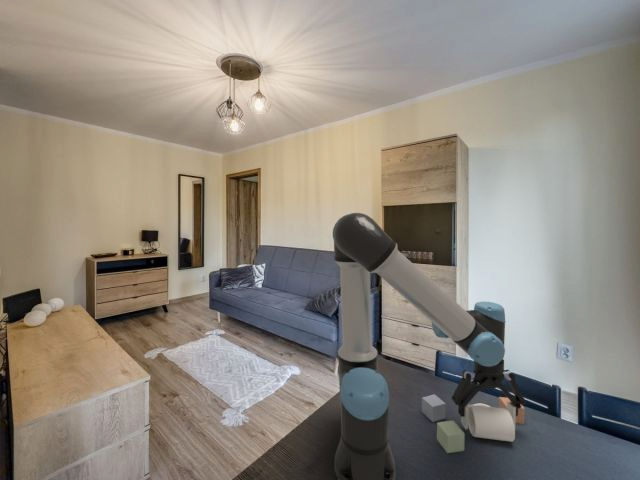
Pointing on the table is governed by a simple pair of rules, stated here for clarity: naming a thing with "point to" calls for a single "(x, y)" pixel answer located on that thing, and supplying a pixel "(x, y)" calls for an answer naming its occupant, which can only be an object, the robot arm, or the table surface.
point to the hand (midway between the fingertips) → (487, 425)
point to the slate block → (433, 408)
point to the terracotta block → (520, 411)
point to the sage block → (450, 436)
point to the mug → (490, 422)
